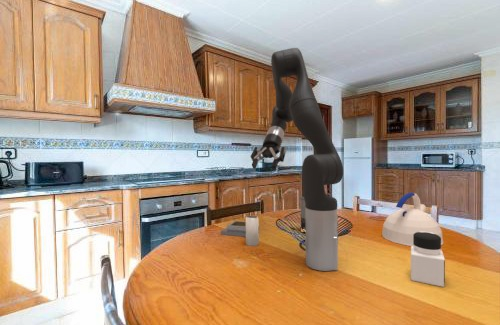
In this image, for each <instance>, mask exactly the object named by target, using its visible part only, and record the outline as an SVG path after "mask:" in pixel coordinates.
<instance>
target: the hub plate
mask: <svg viewBox="0 0 500 325" xmlns="http://www.w3.org/2000/svg"><path fill="white" fill-rule="evenodd" d="M220 235H225V236H235V237H242V238H243V237H244V238H246V220H234V221H232V222H231V223H228V224H227V225H226V227H225V228H223V229H222V230H221V231H220Z"/></svg>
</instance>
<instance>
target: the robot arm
mask: <svg viewBox="0 0 500 325" xmlns="http://www.w3.org/2000/svg"><path fill="white" fill-rule="evenodd" d="M270 60H271V61H270V63H271V72H272V79H273V84H274V89H275V106H274V107H273V109H272V113H271V115H272V116H271V118H272V119H271V124H270V127H269V128H268V131H267V132H266V135H265V138H264V140H263V142H262V145H261V147H260V148H258V147H257V146H255V147H254V148H253V151H252V152H251V155H250V159H251V161H252V163H251V167H252V169H254V170H255V169H257V166H258V164H259V162H260V161H262V160H263V159H268V158H269V159H272V158H273V161H272V163H271V169H272V170H274V171H275V170H276V169H277V167H278V164H279V163H280V162H281V163H283V162H284V161H285V157H286V152H287V151H286V149H285V147H284V146H283V147H282V146H281V145H282V143H283V141H284V136H285V133H286V129H287V123H291V122H293V124H294V126H295V127H296V129H297V130H298V131H299V133H301V134H302V136H304V138H305V139H306V140H308V142H309V143H310V145H311V146H312V148H313V149H314V151H315V153H316V154H315V153H314V154H309V155H307V156H306V157H305V158H304V159H303V162H302V167H301V179H302V181H301V182H302V195H303V196H302V197H304V200H305V218H306V233H305V264H306V266H307V267H309V268H310V269H313V270H315V271H320V272H321V271H322V272H330V271H338V268H339V264H338V263H339V248H338V247H339V246H338V245H339V244H338V243H339V241H338V240H339V238H338V237H339V236H338V234H339V232H338V225H337V223H338V200H337V199H336V198H335V197H334V196H331V195H328V194H327V193H326V192H325V186H328V185H329V186H331V185H335V184H338V183H340V182H341V181H342V179H343V176H344V167H343V166H344V165H343V162H342V159H341V157H340V155H339V152H338V151H337V149H336V146H335V145H334V143H333V140H332V139H331V136H330V135H329V132H328V128H327V126H326V123H325V121H324V118H323V115H322V112H321V110H320V109H321V108H320V106H319V104H318V100H317V98H316V96H315V93H314V91H313V88H312V85H311V82H310V79H309V75H308V72H307V68H306V64H305V60H304V57H303V53H302V52H301V50H300V49H299V48H298V47H291V48H287V49H281V50H277V51H275V52H273V53H272V54H271V59H270ZM292 76H296V84H295V87H294V90H293V91H292V89H291V87H290V86H289V85H288V84H287V83H286V82H285V81H284V80H283V78H288V77H292ZM278 154H279V156H277V155H278Z"/></svg>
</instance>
